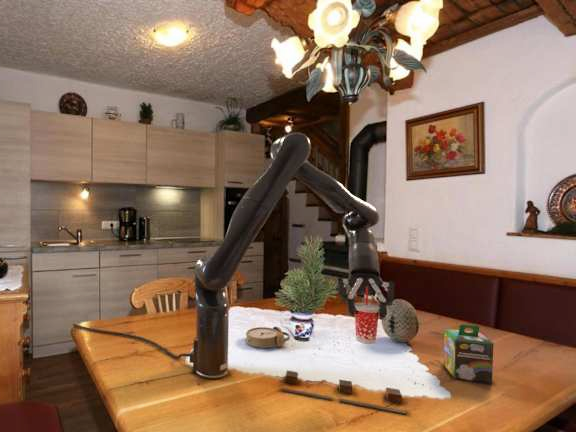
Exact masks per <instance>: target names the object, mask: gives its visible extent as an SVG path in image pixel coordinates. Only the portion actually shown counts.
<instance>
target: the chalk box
mask: <svg viewBox="0 0 576 432" xmlns="http://www.w3.org/2000/svg"><path fill="white" fill-rule="evenodd" d="M466 329H472V330H466ZM443 333H444V334H443V335H444V336H443V337H444V338H443V366H444V367H445V369H446V370H447V371H448V372H449V373H450V375H451V376H452V378H453V379H459V380H465V381H472V382H478V383H483V384H484V383H485V384H490V385H492V384H493V369H494V368H493V367H494V346H495V345H494V344H495V343H494V342H493V341H491V340H490V339H489V338H488V337H486V336H485V335H484V334H483V333H481V332H480V326H479V325H475V324H466V323H460V324H459V328H458V329H451V328H450V329H449V328H445V329H444V332H443Z"/></svg>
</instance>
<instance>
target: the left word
mask: <svg viewBox="0 0 576 432" xmlns="http://www.w3.org/2000/svg"><path fill="white" fill-rule="evenodd" d="M298 381H299V372H298V371H294V370H293V371H292V370H286V372H285V383H288V384H293V385H298V383H299V382H298ZM281 392H284V393H289V394H295V395H301V396H305V397H311V398H316V399H321V400H326V401H333V397H331V396H327V395H319V394H316V393H311V392H305V391H299V390H295V389H289V388H281Z"/></svg>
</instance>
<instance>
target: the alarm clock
mask: <svg viewBox="0 0 576 432" xmlns="http://www.w3.org/2000/svg"><path fill="white" fill-rule="evenodd" d="M245 335H246V343H247V344H248V345H249V346H251V347H255V348H263V349H264V348H272V347H273V348H274V347H276V346H277V347H278V348H281V347H283V346H284V345H285V342H287V341H289V340H290V339H291V335H290V334H289V333H288V332H286V331H282V329H281V327H278V326H273V327H268V326H267V327H266V326H259V327H258V326H257V327H253V328H250V329H248V330H247V331H246V333H245ZM285 336H286V337H285Z"/></svg>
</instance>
